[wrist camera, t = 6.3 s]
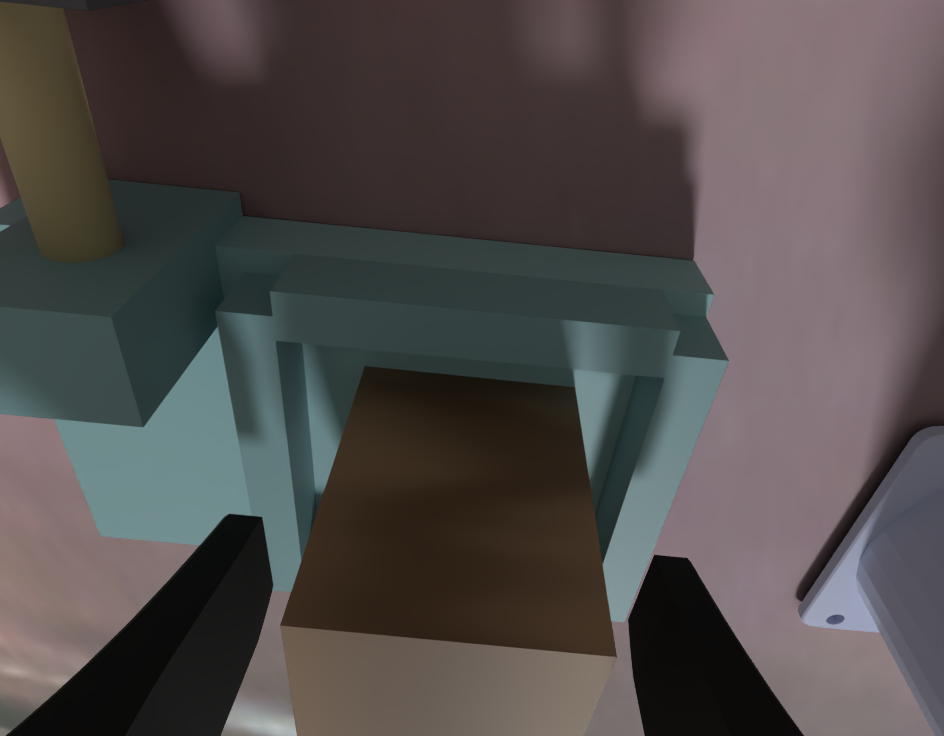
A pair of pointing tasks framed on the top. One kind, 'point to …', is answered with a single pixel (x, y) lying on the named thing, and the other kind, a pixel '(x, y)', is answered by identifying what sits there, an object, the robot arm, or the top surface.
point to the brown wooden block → (452, 567)
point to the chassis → (303, 335)
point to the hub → (74, 3)
